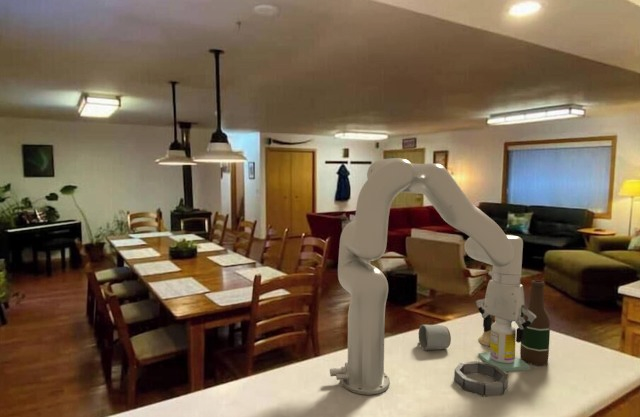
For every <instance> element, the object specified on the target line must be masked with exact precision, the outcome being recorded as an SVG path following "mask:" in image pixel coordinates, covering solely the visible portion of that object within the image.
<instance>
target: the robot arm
mask: <svg viewBox="0 0 640 417" xmlns="http://www.w3.org/2000/svg"><path fill="white" fill-rule="evenodd" d="M366 177H367V180H365V183H364V184H363V185H362V187H361V189H360V190H359V193H358V197H357V202H356V209H355V216H354V220H352V221H350V222H349V223H347V224H346V225H345V226H344V228H343V229H342V230H341V233H340V238H339V248H338V262H337V263H338V264H337V277H338V278H337V279H338V281H339V284H340V286H342V288H343V289H344V290H345V291H346V292H348V293H349V295H350V302H349V306H348V312H347V362H344V366H341V367H340V368H337V367H336V368H334V367H333V368H329V376H330V377H336V378H335V379H336V380H337V381H338V380H339V381H340V380H341V383H342V386H343V387H344V388H345V389H346V390H348V391H350V392H352V393H356V394H359V395H367V396H371V395H378V394H381V393H383V392H386V391H387V390H388V389H389V387H390V384H391V383H390V381H391V380H390V376H388V375H387V374H386V373H385V366H384V365H385V320H386V319H385V318H386V316H385V314H386V306H387V304H386V303H387V299H388V294H389V283H388V280H387V277H386V276H385V274H384V273H383V272H382V270H380V269H379V268H378V267H376V266H374V265H372V264H371V261H377V260H379V259H381V257H383V255H385V252H386V249H387V243H388V230H389V216H390V210H391V206H392V204H393V201H394V200H395V198H396V197H397V196H398V195H399V194H400V193H403V194H404V193H407V194H420V195H424V197H425V198H426V199H427V200H428V201H429V203H430V204H431V205H432V207H433V208H434V210H436V212H437V213H438V214H439V216H440V217H441V219H443V221H445V223H447V224H448V225H450V226H451V227H452V228H454V229H456V230H458V231H460V232H462V233H463V234H465V235H467V236H468V237H467V239H466V240H465V242H464V251H465V253H466V255H467V256H468V257H470V258H471V259H473V260H475V261H479V262H481V263H485V264H488V265H490V266H492V269H491V270H489V271H488V273H487V274H488V276H490V277H491V279H490V280H488V284H487V287H486V291H485V297H484V298H482V299H478V300H476V301H475V304H476V306H477V307H478V308H477V309H478V311H479V313H480V315H481V318H483V321H482V322H483V323H482V327H483V333H484V332H487V331H489V330H491V325H492V318H491V317H490V315H492V316H495V317H499V318H502V319H506V320H509V321H512V322H515V324H516V325H517V328H516V340H515V343H518V344H519V343H521V341H523V340H524V339H525V330H526V327H528V326H529V325H531V324H532V323H533V322H534V320H535V319H536V315H535V314H533V313H532V312H531V311H530V310H528V309H527V308H528V307H526V305H525V304H526V300H525V290H524V285H523V284H521V283H522V282H521V281H522V268H523V267H522V264H523V248H524V241H523V238H521V237H520V236H517V235H513V234H506V233H505V232H504V230H503V229H502V228H501V226H499V224H497V222H495V220H494V219H492V218H491V217H489V215H487V214H486V213H485V212H483V211H482V209H480V208H479V207H477V206H476V205H474V204H473V202H471V200H470V199H469V198H468V197H467V195H466V194H465V193H464V191H463V190H462V189H461V187H460V185H458V183H457V181H456V180H455V179H454V177H453V176H452V174H451V173H450V172H449V171H448V170H447V168H446V167H444V165H443V164H440V163H412V162H410V161H409V160H408V159H405V158H399V157H397V158H395V157H394V158H393V157H391V158H383V159H377V160H375V161H374V162H372V163H371V164H370V165H369V167H368V169H367V173H366ZM524 314H525V315H527V316H528V320H527V321H526V322H525V320H524V319H523V317H524Z"/></svg>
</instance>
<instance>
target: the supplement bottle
mask: <svg viewBox="0 0 640 417" xmlns="http://www.w3.org/2000/svg"><path fill="white" fill-rule="evenodd" d="M512 323H513V321H509V320H506V319H502V318H499V317H495V323H493V324H492V325H491V341H490V346H489V347H490V348H489V349H490V350H489V352H490V356H491V358H492V359H493V360H494V361H497V362H500V363H512V362H514V360H515V356H516V333H517V328H516V327H515V326H514V325H513V324H512Z"/></svg>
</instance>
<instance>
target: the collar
mask: <svg viewBox="0 0 640 417" xmlns="http://www.w3.org/2000/svg"><path fill="white" fill-rule="evenodd" d="M476 374H477V375H481V376H484V377H488V378H492V379H494V380H495V381H489V382H487V381H486V382H484V381H479V380H476V379H473V378H469V377H467V375H476ZM453 375H454V376H453V379H454V382H455V383H456V384H457V385H458V387H460V388H461V389H462V391H464V392H467V393H471V394H474V395H477V396H480V397H486V398H487V397H495V396H497V397H498V396H503V395H505V393H506V391H507V389H508V386H509V375H508V374H507V373H506V371H504V372H503V371H502V370H501V369H500V368H498V367H496V366H494V365H490V364H487V363H486V362H484V361H479V360H478V361H477V360H476V361H475V360H474V361H461V362H459V364H457V365H456V367H455V368H454V374H453Z"/></svg>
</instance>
